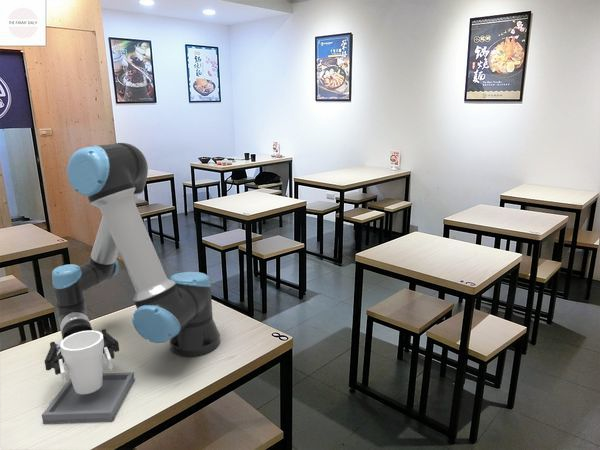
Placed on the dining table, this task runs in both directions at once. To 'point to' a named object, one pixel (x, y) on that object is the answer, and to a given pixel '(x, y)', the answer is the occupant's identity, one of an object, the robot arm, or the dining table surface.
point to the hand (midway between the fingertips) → (87, 370)
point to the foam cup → (84, 360)
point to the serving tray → (90, 401)
